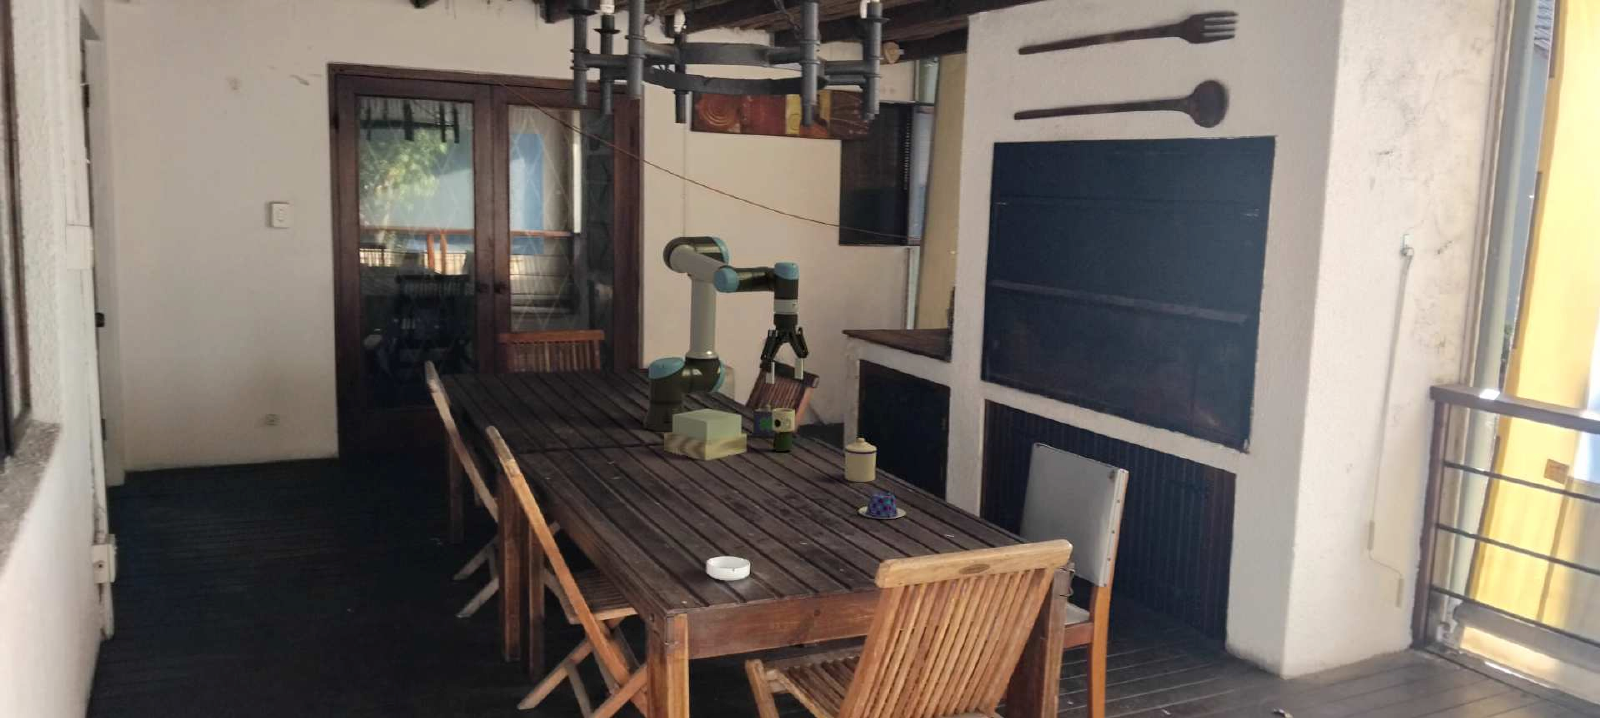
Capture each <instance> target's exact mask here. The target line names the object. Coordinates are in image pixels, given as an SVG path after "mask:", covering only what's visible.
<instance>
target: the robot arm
mask: <svg viewBox="0 0 1600 718" xmlns="http://www.w3.org/2000/svg"><path fill="white" fill-rule="evenodd" d="M662 258H663V262H664V264H665V266H666V267H667V268H668V269H669V270H671V271H673V272H675V273H677V274H687V278H689V280H690V281H691V285H690V287H691V288H690V289H691V291H690V292H691V293H690V323H689V325H690V327H689V329H690V330H689V350H688V351H687V352H686V353H685V355H684V358H682V357H678V356H677V357H676V356H674V357H663V358H659V359H655V360H653V361H652V362H651V363H650V365H649V368H648V408H647V410H646V413H645V414H646V415H645V418H644V419H643V428H644V429H645V430H650V431H656V432H673V415H674V414H680V413H685V412H686V409H685V405H684V396H689V395H701V394H704V395H707V394H710V393H715V392H718V391H719V390H720V389H721V388H722V386H723V385H724V382H725V378H726V368H725V367H724V366H725V365H724V362H723V361H722V360H721V359H720V356H719V354H718V353H717V352H716V351H715V348H716V347H715V346H716V344H715V343H716V319H717V318H716V317H717V315H716V314H717V293H722V294H723V293H725V294H731V293H732V294H733V293H734V294H735V293H758V292H770V293H773V309H772V310H773V312H774V314H773V325H774V326H775V329H768V330H767V336H766V340H765V343H764V346H763V348H762V351H761V355H760V358H759V359H760V361H762V362H764V363H765V364H764V365H765V366H764V368H765V369H764V372H765V383H766V384H775V362H774V359H775V357H776V356H777V354H778V352H779V350H780V348H781V346H783V345H784V344H787V343H788V344H789V345H790V347H791V348H792V350H793V352H794V354H795V356H796V357H795V358H794V379H796V380H797V379H798V380H803V379H804V368H805V359H807V358H808V356H809V354H810V352H809V349H808V346H807V343H806V339H805V337H804V330H803V326H798V321H799V319H798V318H799V314H798V313H797V312H798V309H799V285H800V284H799V283H800V282H799V281H800V280H799V279H800V273H799V265H798V263H796V262H786V261H785V262H782V261H781V262H775V263H774V267H769V266H757V267H734V266H732V265H729V263H730V253H729V249H728V247H727V245H726V244H725V242H724V240H722V238H719V237H716V236H710V235H709V236H708V235H706V236H702V235H701V236H679V237H675V238H673V239H670V240H669V241H668V243H666V244H665V246H664V248H663V251H662Z"/></svg>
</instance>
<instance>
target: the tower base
mask: <svg viewBox="0 0 1600 718" xmlns="http://www.w3.org/2000/svg"><path fill="white" fill-rule="evenodd" d="M663 435H664V436H663V437H664V440H663V441H664V444H663V446H664V449H663V451H664V450H665V451H669V452H672V453H671V454H674V453H676V454H675V455H678V454H679V456H682V455H685V456H684V457H687V456H688V458H691V457H692V459H694V460H695V459H696V460H700V461H704V460H707V461H711V460H714V459H715V460H716V459H721V458H725V457H729V456H728V455H730V456H733V455H738V454H739V455H740V454H742V453H747V449H748V448H747V444H748V443H747V442H748V441H747V439H748V438H747V437H748V436H747V435H748V434H747V433H743V432H741V434H740V435H735V436H730V437H725V438H720V439H715V440H710V441H704V440H699V439H694V438H690V437H685V436H680V435H676V434H673V431H670V432H668V433H667V432H666V433H664V434H663ZM665 451H664V452H665ZM669 452H668V453H669Z"/></svg>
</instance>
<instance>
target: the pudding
mask: <svg viewBox="0 0 1600 718" xmlns="http://www.w3.org/2000/svg"><path fill="white" fill-rule="evenodd" d="M896 504H897V503H896V499H895V496H894V494H892V493H889V492H883V491H882V492H881V491H880V492H874V493H872V494H871V495H870V497H869V501H868V503H867V506H864V507H861V508H860V509H858V513H859V514H860V515H862V516H864V517H868V518H872V519H881V520H882V519H883V520H889V519H898V518H901V517H903V516H905V515H906V514H907V511H905V510H904V509H902V508H899V507H898V506H897V505H896Z"/></svg>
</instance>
